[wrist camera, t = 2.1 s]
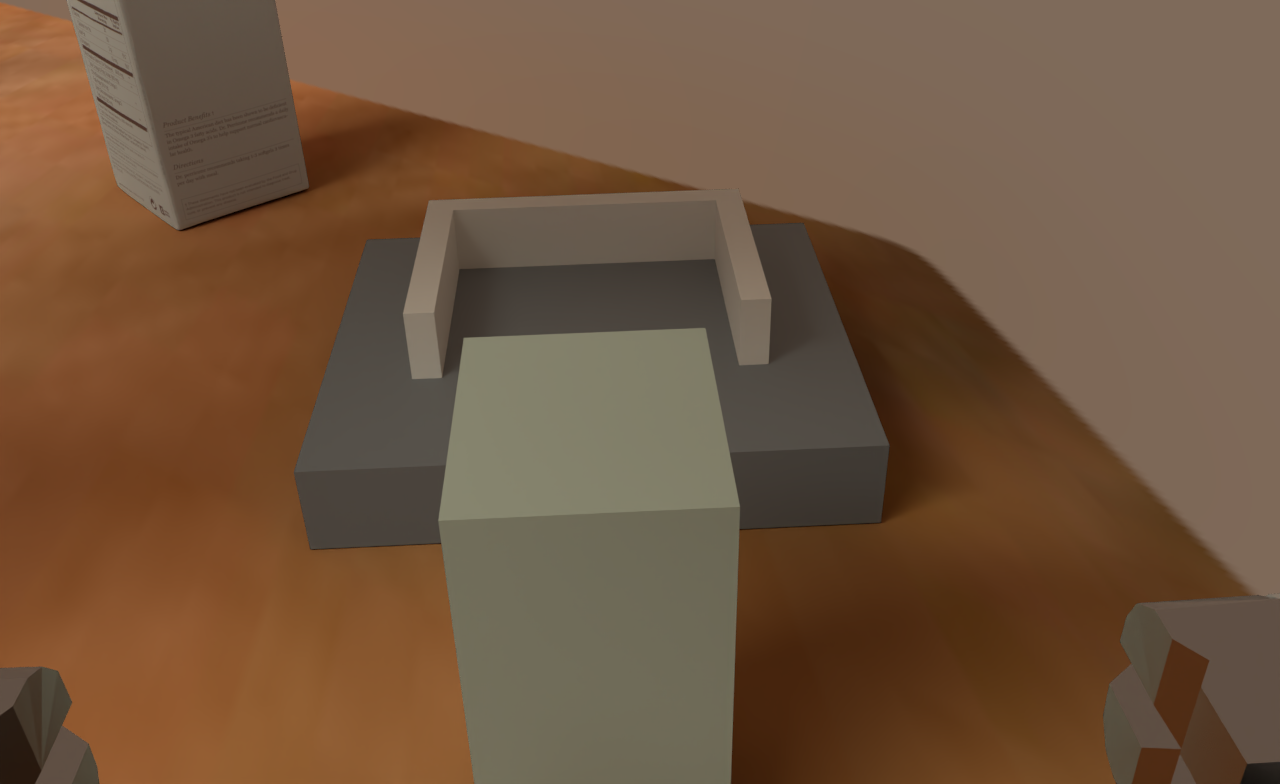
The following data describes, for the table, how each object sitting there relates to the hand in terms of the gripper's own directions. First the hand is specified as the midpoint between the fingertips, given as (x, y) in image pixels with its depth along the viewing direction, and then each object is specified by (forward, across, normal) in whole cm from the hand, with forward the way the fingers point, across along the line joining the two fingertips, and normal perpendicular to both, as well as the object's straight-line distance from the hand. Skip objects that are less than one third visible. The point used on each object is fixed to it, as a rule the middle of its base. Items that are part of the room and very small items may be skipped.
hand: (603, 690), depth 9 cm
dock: (+31, 0, +17) cm, 36 cm away
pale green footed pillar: (+12, 0, +18) cm, 21 cm away
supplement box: (+52, +19, +17) cm, 58 cm away
